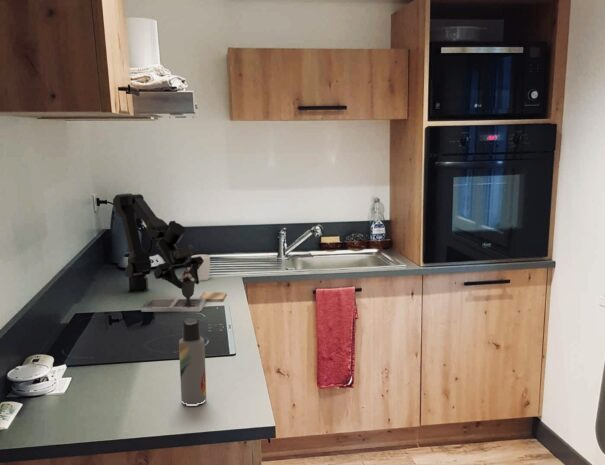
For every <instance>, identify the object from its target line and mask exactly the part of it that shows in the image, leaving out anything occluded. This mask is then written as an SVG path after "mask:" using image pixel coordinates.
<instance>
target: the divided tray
mask: <svg viewBox="0 0 605 465" xmlns="http://www.w3.org/2000/svg"><path fill="white" fill-rule="evenodd" d="M186 302H187V298H149V299H148V300H147V301H146V302H145V303H144V304H143V305H142V306H141V307H140V311H141V312H142V313H144V312H145V313H146V312H149V313H150V312H152V313H153V312H155V313H159V312H161V313H163V312H164V313H166V312H168V313H172V312H173V313H176V312H177V313H185V312H190V313H191V312H193V313H198V312H199V313H201V312H202V310H203V308H204V307H205V305H206V304H207V302H206V299H199V298H190V303H191V304H199V305H198V306H195V307H182V306H178V305H179V304H186ZM200 311H201V312H200Z"/></svg>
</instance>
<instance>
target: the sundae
mask: <svg viewBox="0 0 605 465" xmlns="http://www.w3.org/2000/svg"><path fill="white" fill-rule="evenodd" d="M185 267H186V266H185ZM178 279H179V281H180V283H181V285H182V288H181V294H182V296H183V297H184V298H185V299H187V302H186V303H185V304H184V305H182V306H181V307H196V305H195V304H193V303H190V299H191V297H193V295H194V294H195V293H194V292H195V285H196V283H195V282H196V281H197V279H196V278H193V277H192V276H191V274H190V273H189V270H188V269H186V270H184V271H183V274H181V278H178Z"/></svg>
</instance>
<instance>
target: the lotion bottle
mask: <svg viewBox="0 0 605 465" xmlns="http://www.w3.org/2000/svg"><path fill="white" fill-rule="evenodd" d="M200 324H201V323H200V319H198V318H197V317H193V316H190V317H187V318H184V319H183V320H182V328H181V329H182V338H180V339H179V341H178V351H179V354H178V355H179V373H180V374H179V376H180V394H181V395H180V398H181V402H182V401H183V402H184V403H187V404H197V403H201V402H203V401H204V400H205V399H206V400H207V380H206V379H207V378H206V373H207V372H206V348H205V338H203V337H202V336H201V328H200Z"/></svg>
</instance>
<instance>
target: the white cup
mask: <svg viewBox="0 0 605 465" xmlns="http://www.w3.org/2000/svg"><path fill="white" fill-rule="evenodd" d="M198 256H200V257H202V259H203V260H204V262H203V263H202V265H201V266H200V267H199V269H198V270H197V271H198V279H199V282H200V281H208V280H209V279H210V274H211V273H210V272H211V255H208V254H195V255H191V256H190V257H191V258H193V257H198ZM191 258H190V259H191Z"/></svg>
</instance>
